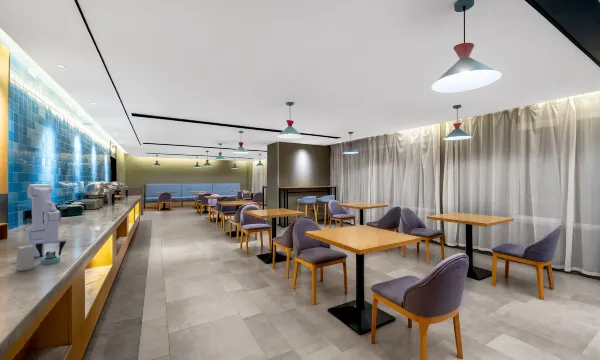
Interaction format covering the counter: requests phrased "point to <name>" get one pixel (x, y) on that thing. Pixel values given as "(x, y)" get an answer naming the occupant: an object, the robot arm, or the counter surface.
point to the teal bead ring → (50, 260)
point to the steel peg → (50, 254)
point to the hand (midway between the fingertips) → (50, 256)
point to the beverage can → (25, 258)
